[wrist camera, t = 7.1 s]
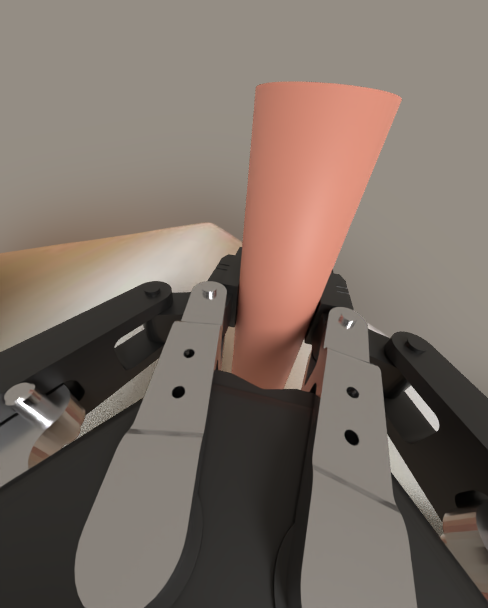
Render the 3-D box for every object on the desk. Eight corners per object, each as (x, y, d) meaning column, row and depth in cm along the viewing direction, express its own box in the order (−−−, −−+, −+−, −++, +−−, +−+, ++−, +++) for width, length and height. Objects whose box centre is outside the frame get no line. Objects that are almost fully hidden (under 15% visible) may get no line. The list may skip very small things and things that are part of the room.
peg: (220, 418, 14) (233, 77, 4) (239, 379, 17) (276, 99, 6) (265, 439, 14) (417, 87, 3) (278, 395, 16) (391, 108, 6)
